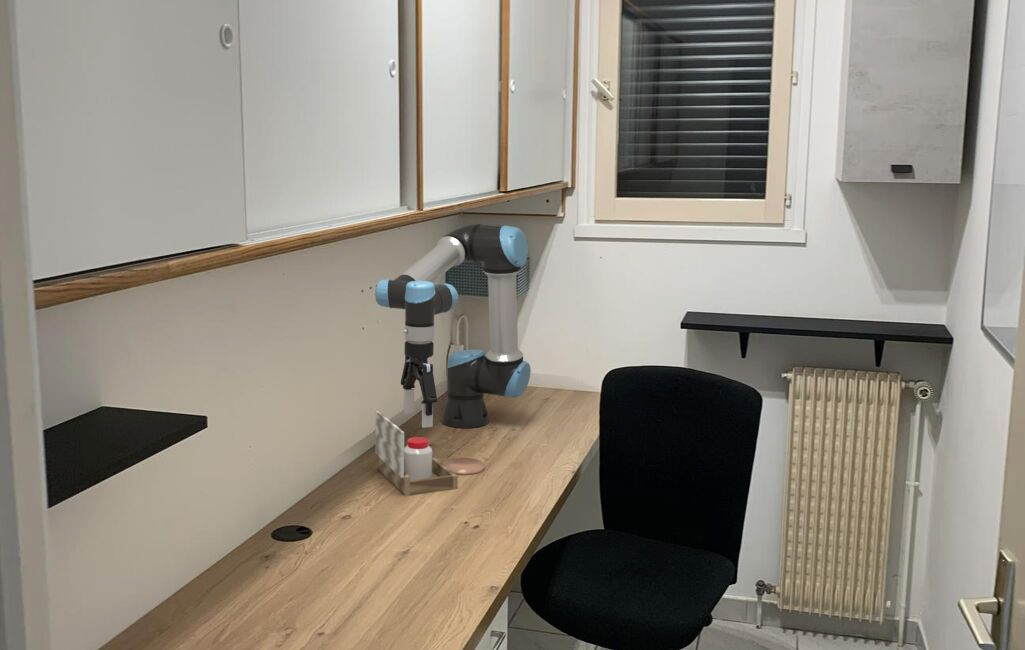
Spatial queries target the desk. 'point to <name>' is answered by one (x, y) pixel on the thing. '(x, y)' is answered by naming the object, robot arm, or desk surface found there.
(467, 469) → the saucer
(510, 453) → the desk surface
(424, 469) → the pill bottle
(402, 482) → the frame
